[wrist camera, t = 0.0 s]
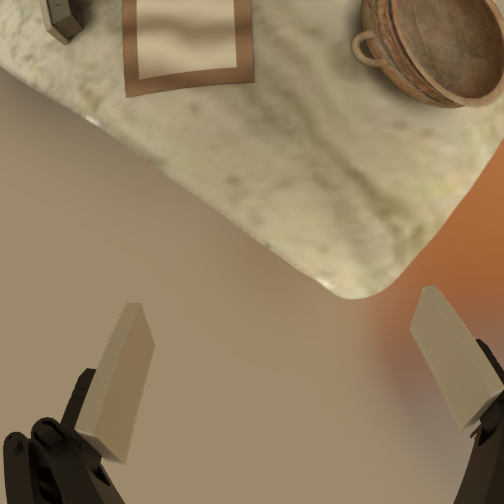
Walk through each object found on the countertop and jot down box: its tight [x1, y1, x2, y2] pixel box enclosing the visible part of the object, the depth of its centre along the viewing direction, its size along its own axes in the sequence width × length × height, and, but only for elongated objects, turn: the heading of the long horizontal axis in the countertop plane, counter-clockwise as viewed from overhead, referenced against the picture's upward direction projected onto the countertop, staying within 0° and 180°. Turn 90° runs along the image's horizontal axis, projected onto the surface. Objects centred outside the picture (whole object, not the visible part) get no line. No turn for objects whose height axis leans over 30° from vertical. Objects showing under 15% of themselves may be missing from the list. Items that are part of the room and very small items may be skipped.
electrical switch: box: [40, 0, 83, 45], centre depth 22 cm, size 8×5×8 cm, turn 17°
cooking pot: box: [351, 0, 504, 108], centre depth 23 cm, size 25×19×12 cm
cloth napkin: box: [122, 0, 254, 97], centre depth 28 cm, size 16×16×1 cm
